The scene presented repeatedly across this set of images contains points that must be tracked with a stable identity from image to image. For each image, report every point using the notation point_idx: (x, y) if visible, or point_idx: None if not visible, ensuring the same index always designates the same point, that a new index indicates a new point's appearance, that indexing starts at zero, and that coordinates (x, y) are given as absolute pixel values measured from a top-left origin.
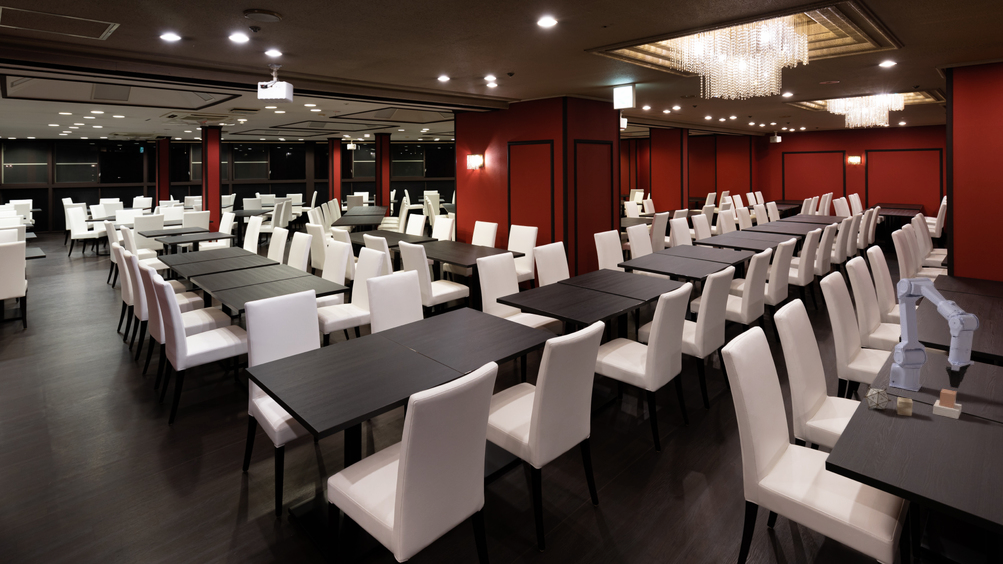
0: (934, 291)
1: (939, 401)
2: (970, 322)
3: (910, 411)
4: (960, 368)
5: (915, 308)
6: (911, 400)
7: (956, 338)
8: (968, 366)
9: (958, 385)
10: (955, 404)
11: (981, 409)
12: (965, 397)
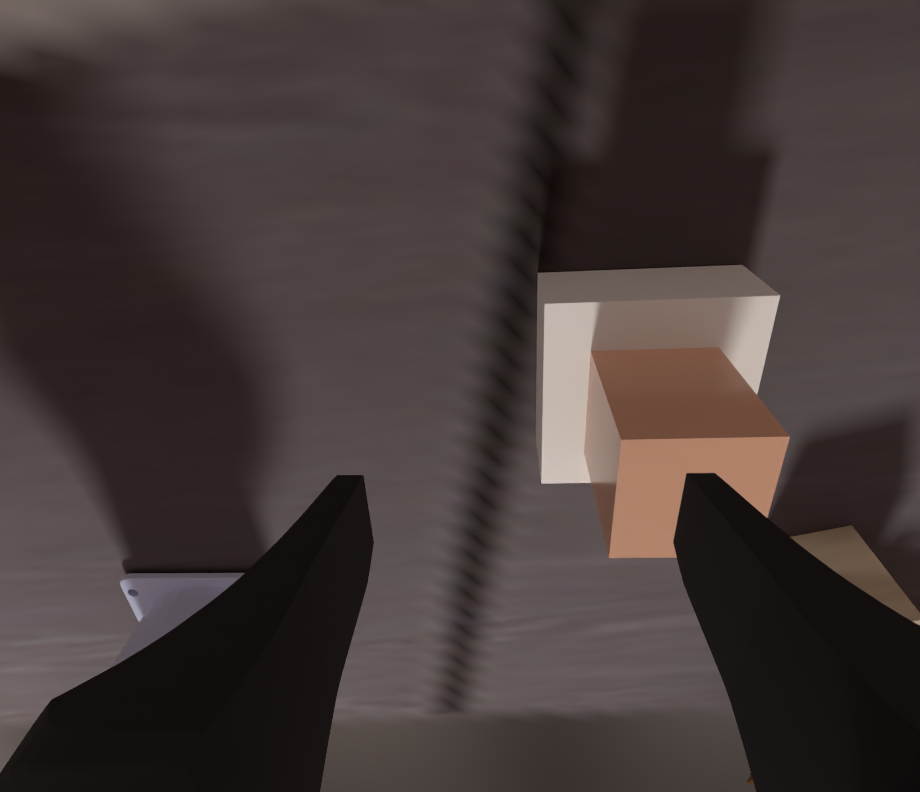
0: None
1: (581, 463)
2: None
3: (874, 560)
4: (299, 712)
5: None
6: None
7: None
8: (232, 707)
9: (746, 503)
10: (581, 350)
11: (295, 131)
12: (74, 305)
